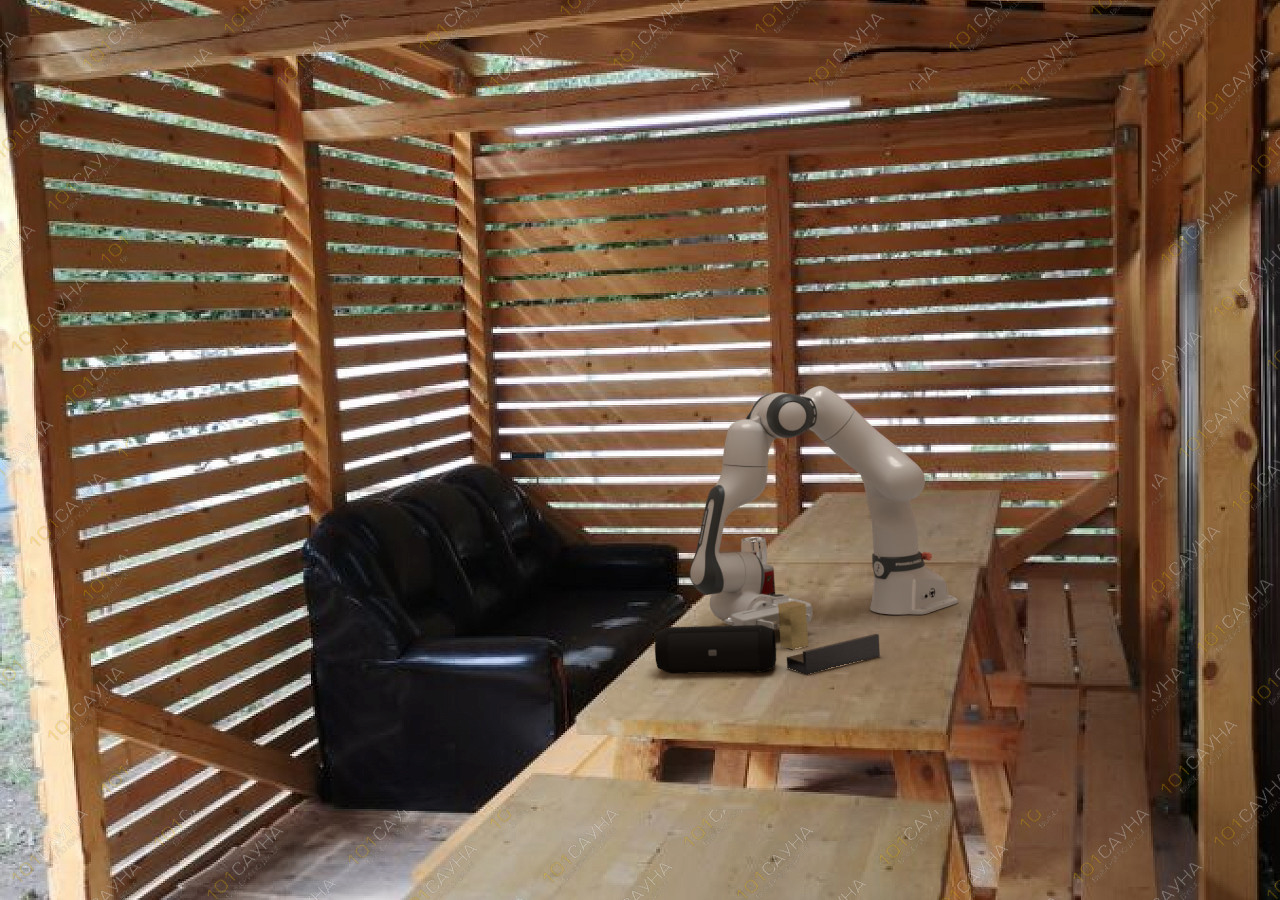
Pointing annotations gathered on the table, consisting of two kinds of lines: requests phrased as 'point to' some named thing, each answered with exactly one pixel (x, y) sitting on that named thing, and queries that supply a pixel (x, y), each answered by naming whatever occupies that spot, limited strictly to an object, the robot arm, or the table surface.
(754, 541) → the beer glass
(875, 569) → the robot arm
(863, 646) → the rail
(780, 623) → the wooden block
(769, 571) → the canned food
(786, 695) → the table surface
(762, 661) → the portable speaker
